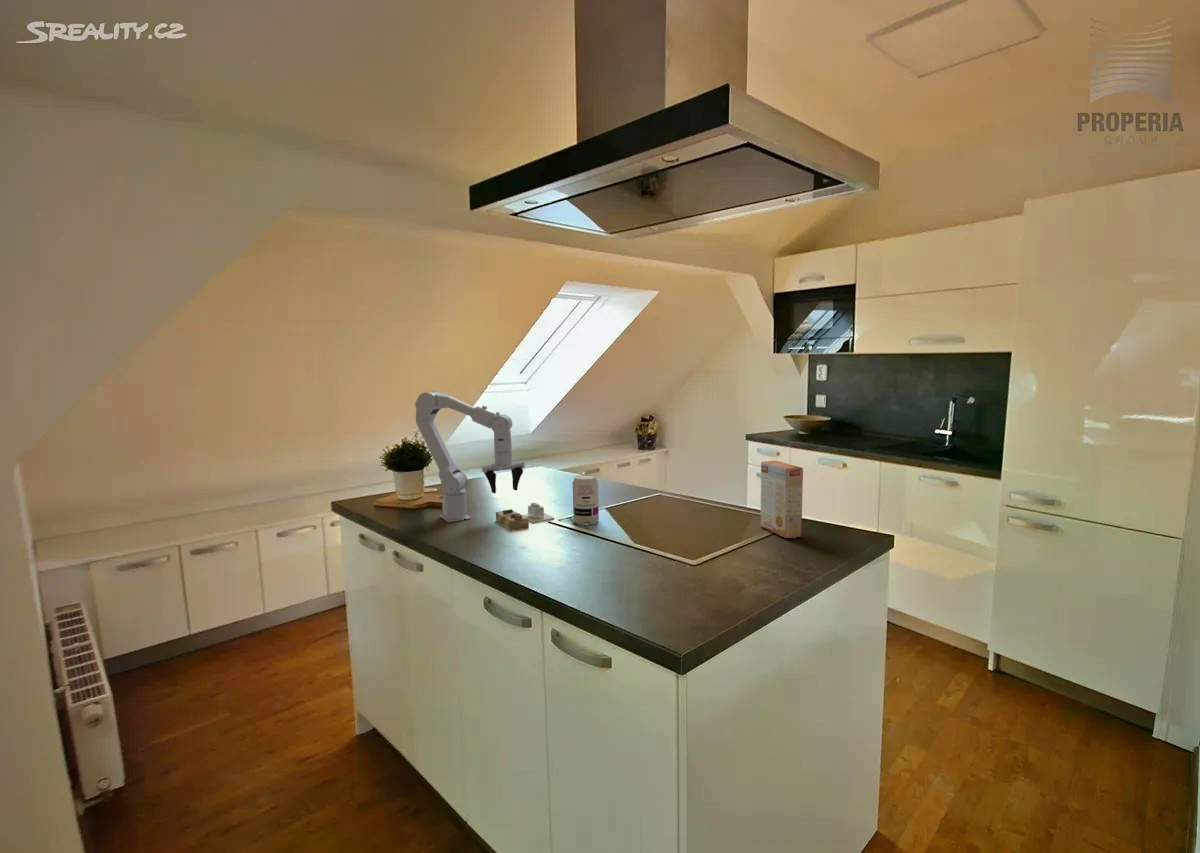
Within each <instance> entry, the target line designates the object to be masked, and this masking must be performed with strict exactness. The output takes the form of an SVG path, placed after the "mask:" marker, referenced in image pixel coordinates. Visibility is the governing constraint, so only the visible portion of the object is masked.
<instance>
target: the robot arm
mask: <svg viewBox="0 0 1200 853" xmlns="http://www.w3.org/2000/svg"><path fill="white" fill-rule="evenodd" d="M414 406H415V409H416V410H415V423H416V425H417V428H418V430H419V432H420V434H421V436H422V438H423V440H424V442H425V444H426V446H427V449H428V450H429V452H430V454H431V456H432V458H433V460H434V462H435V464H436V465H437V468H438V469H439V470H438V471H439V472H438V477H439V480H440V488H441V489H442V490H441V491H442V492H443V495H442V497H441V498H442V499H441V502H442V505H441V506H442V514H440V515H439V516H440V517H441V519H443V520H444V521H446V522H447V523H453V522H458V521H465V520H464V519H466V520H471V518H472V517H471V516H469V515H468V514H467V494H466V488H465V486H466V485H467V484H468V476H467V475H466V474H465V473H464V472H463V471H462V470H461V469H460V467H459V466H458V465H457V464H456V463H455V462H454V460H453V459H452V456H451V454H450V453H449V450H448V448H447V446H446V444H445V442H444V440H443V438H442V437H441V434H440V432H439V430H438V428H437V425H436V424H435V422H434V421H435V418H436V417H437V415H438V413H439V412H440V410H441V409H447V408H448V409H451V410H453V411H456V412H459V413H462V414H464V415H467V416H469V417H470V418H471V420H472V422H473V423H476V424H479V425H481V426H482V427H486V428H488V429H491V430H492V432H493V445H494V448H493V449H494V464H488V465H482V466H481V472H482V473H484V475H485V478H486V479H487V481H488V483H489V486H490V490H491V493H492V494H496V493H497V488H496V487H497V486H496V485H497V484H496V483H497V482H496V480H497V479H496V478H497V473H495V472H499V471H509V470H510V471H511V480H512V489H513V490H514V491H518V489H519V488H518V487H519V483H520V480H521V476H522V475H523V473H524V469H525V467H526V466H525V465H526V463H525V462H524V461H515V462H513V453H512V452H513V450H512V446H513V445H512V431H511V429H512V428H513V420H512V418H510V417H509V416H508V415H507V414H501V412H499V411H493V410H491V409H489V408H488V406H486V405H478V406H475V407H474V406H472V405H471V404H468V403H467V402H464V401H462V400H459V399H458V398H455V397H454V396H451V395H449V394H447V393H441V391H437V390H434V391H430V392H428V391H427V392H422V393H420V394H419V395H418V397H417V399H416V401H415V402H414Z"/></svg>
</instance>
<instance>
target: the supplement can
mask: <svg viewBox="0 0 1200 853" xmlns="http://www.w3.org/2000/svg"><path fill="white" fill-rule="evenodd" d="M572 507H573V508H572V509H573V510H572V511H573V512H572V513H573V515H572V516H573V519H572V521H573V522H574V523H575V522H576V523H578V524H577V525H579V524H592V525H594V524H593V523H595V524H597V523H598V521H599V520H600V517H599V516H600V515H599V480H598V479H597V477H596V476H595V475H590V474H586V475H585V474H584V475H576V476H574V479H573V481H572ZM596 522H597V523H596ZM576 523H575V524H576Z"/></svg>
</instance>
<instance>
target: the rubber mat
mask: <svg viewBox="0 0 1200 853" xmlns="http://www.w3.org/2000/svg"><path fill="white" fill-rule="evenodd" d="M522 515H523V516H525V517H526V518H528V519H529V522H530V523H531V524H537V523H542V522H549V521H554V520H553V519H555V517H554V516H552V515H550V514H548V513H546V512H544V518H538V519H533V518H531V517H529V516H528V513H525V514H522ZM548 520H549V521H548Z"/></svg>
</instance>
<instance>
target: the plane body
mask: <svg viewBox="0 0 1200 853" xmlns="http://www.w3.org/2000/svg"><path fill="white" fill-rule="evenodd" d="M523 515H524V514H521V513H519V512H517V511H515V510H513V509H512V508H511V509H503V510H502V511H496V512H495V521H496V522H497V521H498V522H497V523H499V522H500V523H501V525H502V524H503V526H504V525H505V526H504V527H506V528H507V527H508V529H509V530H511V531H512V530H514V531H517V530H524V529H529V528H530V524H529V519H528V518H526V517H525V516H523ZM500 523H499V524H500Z"/></svg>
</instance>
